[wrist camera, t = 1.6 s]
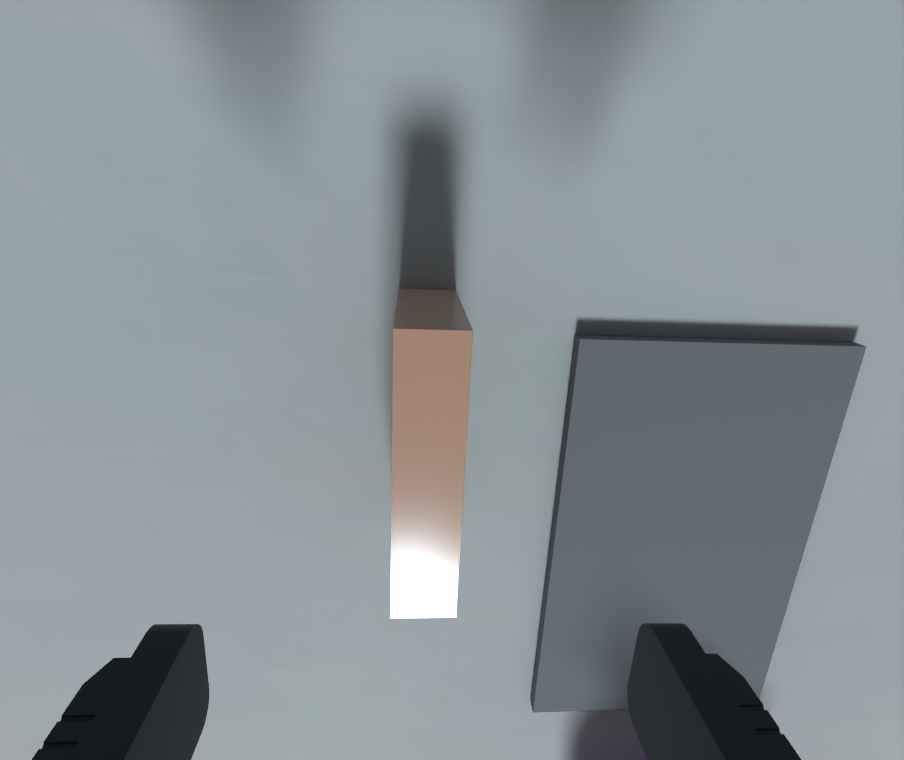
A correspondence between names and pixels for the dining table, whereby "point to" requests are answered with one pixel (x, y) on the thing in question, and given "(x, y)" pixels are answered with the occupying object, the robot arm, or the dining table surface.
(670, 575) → the mat
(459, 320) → the block
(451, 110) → the dining table surface
